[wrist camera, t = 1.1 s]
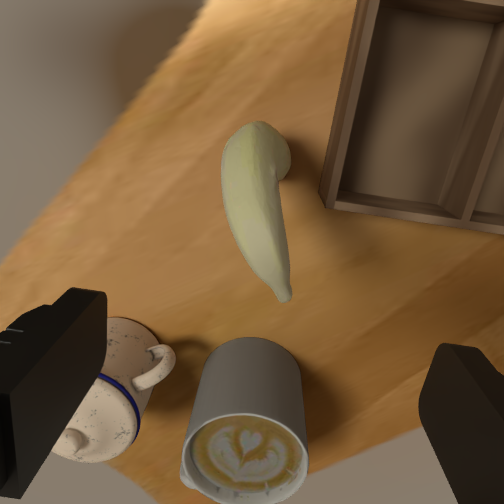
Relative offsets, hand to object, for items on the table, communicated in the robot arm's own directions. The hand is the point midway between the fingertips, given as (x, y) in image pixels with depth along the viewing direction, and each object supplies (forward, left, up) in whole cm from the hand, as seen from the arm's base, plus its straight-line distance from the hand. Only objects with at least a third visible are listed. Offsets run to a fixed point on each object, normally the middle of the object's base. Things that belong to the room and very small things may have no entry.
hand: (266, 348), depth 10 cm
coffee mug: (0, +22, -25) cm, 33 cm away
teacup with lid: (+11, +19, -25) cm, 33 cm away
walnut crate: (-14, -6, -25) cm, 29 cm away
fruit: (0, 0, -25) cm, 25 cm away
